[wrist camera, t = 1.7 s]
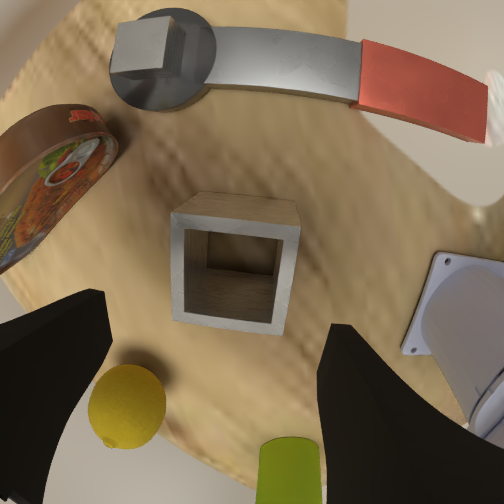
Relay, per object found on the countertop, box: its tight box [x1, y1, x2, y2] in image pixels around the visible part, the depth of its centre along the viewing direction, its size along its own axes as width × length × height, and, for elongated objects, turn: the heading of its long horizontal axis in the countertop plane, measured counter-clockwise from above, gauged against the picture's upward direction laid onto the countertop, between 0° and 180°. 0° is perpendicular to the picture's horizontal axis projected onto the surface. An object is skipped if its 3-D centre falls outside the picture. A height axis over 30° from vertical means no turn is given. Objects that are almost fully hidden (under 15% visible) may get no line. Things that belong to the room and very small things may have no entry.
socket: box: [170, 191, 301, 336], centre depth 15 cm, size 5×5×5 cm
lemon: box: [88, 364, 166, 449], centre depth 18 cm, size 6×6×8 cm
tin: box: [0, 104, 119, 275], centre depth 13 cm, size 15×3×8 cm, turn 123°
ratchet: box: [109, 8, 488, 144], centre depth 12 cm, size 21×6×4 cm, turn 85°
